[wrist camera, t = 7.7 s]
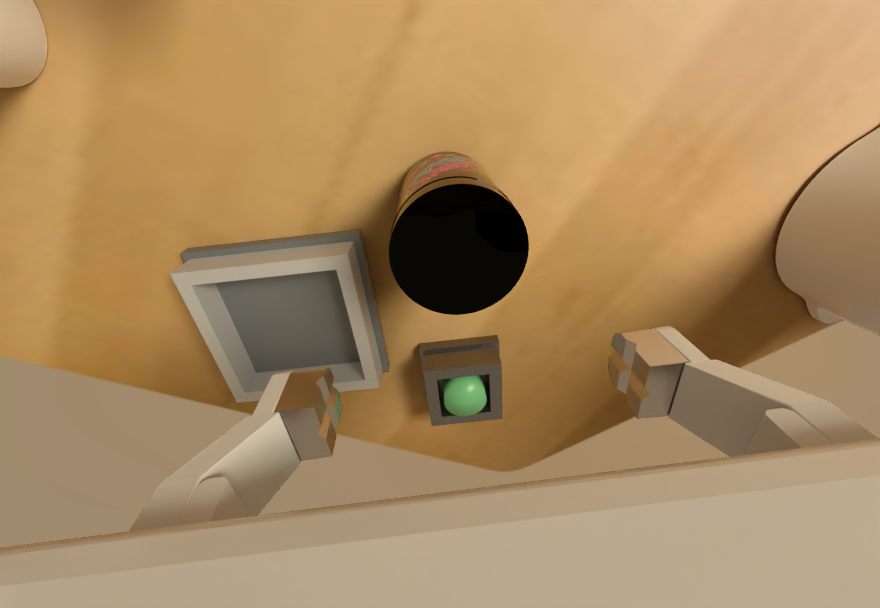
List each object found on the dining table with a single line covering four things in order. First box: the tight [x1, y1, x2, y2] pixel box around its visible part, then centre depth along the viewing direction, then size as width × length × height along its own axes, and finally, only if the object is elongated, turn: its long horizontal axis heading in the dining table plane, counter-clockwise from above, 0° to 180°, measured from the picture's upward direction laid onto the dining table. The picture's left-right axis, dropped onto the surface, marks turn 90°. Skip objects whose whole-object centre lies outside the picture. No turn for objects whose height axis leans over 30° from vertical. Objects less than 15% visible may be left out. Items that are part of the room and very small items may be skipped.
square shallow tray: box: [170, 229, 390, 403], centre depth 29 cm, size 13×13×4 cm
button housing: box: [419, 335, 502, 426], centre depth 33 cm, size 7×7×4 cm
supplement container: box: [389, 152, 529, 315], centre depth 22 cm, size 7×7×10 cm
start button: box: [443, 375, 487, 416], centre depth 32 cm, size 4×4×2 cm
